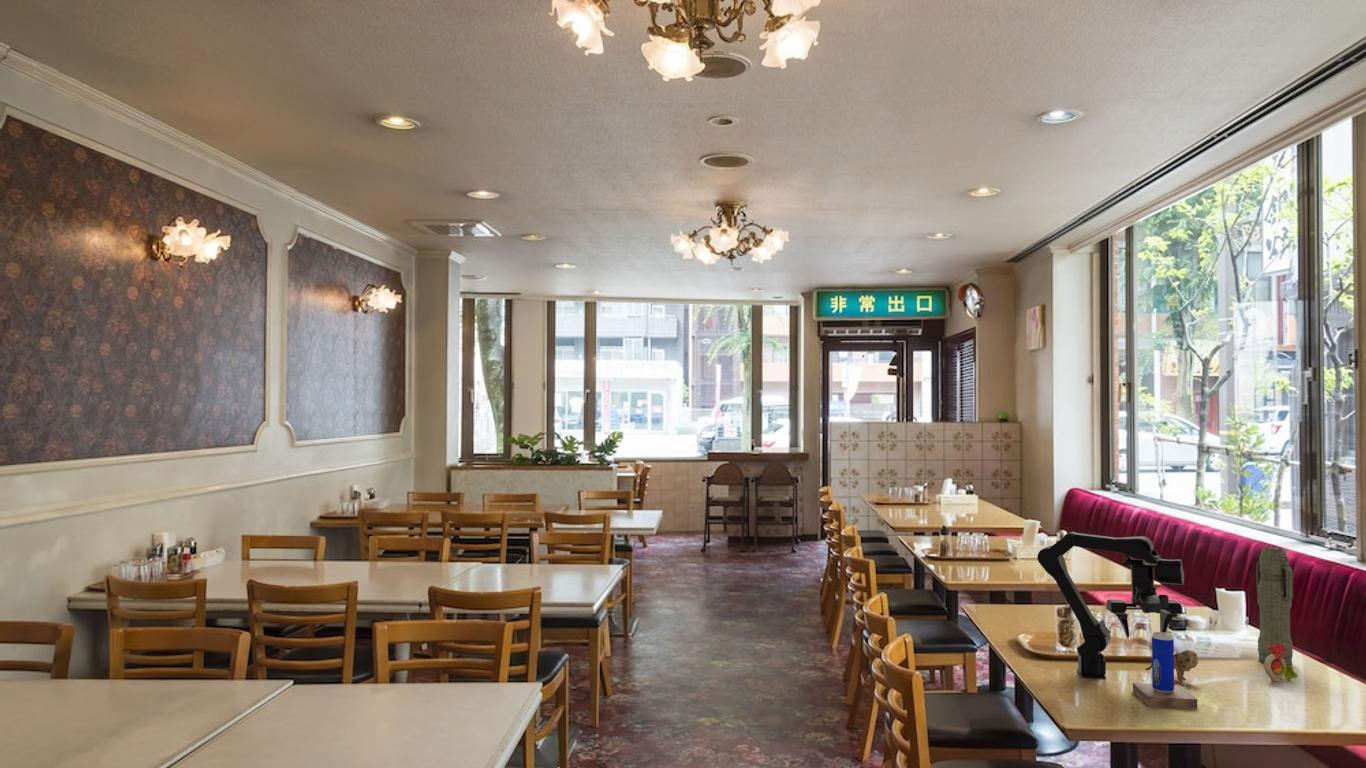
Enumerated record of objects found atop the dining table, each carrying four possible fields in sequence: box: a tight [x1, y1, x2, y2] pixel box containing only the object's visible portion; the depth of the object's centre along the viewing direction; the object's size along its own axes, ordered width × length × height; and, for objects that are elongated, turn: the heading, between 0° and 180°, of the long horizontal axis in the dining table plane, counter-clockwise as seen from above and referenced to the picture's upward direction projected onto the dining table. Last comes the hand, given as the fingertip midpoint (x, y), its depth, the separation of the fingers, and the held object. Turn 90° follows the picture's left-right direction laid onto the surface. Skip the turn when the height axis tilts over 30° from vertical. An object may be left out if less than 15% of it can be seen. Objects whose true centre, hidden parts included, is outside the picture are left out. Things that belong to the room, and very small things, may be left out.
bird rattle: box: [1263, 643, 1299, 683], centre depth 258 cm, size 6×11×9 cm
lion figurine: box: [1145, 649, 1200, 683], centre depth 261 cm, size 15×5×9 cm, turn 38°
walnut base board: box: [1132, 682, 1198, 709], centre depth 240 cm, size 12×12×2 cm
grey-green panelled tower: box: [1255, 546, 1294, 666], centre depth 277 cm, size 9×12×35 cm
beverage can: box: [1151, 631, 1175, 693], centre depth 241 cm, size 5×5×15 cm
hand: (1145, 637), depth 255 cm, fingers open, 9 cm apart
